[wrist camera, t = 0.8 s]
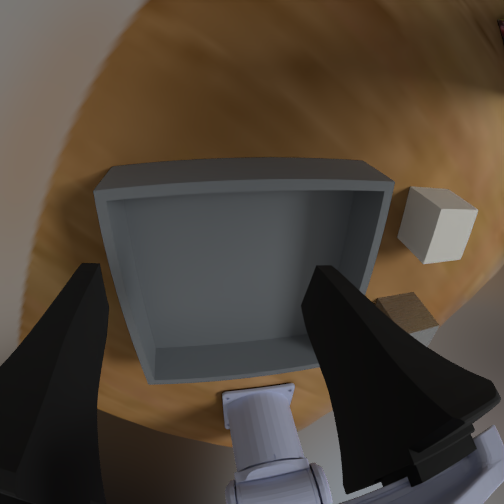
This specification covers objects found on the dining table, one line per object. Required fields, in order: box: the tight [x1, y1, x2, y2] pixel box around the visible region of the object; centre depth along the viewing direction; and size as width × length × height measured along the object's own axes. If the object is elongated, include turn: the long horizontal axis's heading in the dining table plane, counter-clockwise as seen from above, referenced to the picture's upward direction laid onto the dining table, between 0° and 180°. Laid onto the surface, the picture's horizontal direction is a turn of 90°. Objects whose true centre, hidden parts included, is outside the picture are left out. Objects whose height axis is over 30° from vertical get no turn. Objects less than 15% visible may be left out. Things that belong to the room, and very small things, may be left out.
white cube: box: [397, 187, 478, 264], centre depth 21 cm, size 4×4×4 cm
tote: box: [93, 157, 395, 384], centre depth 21 cm, size 16×16×4 cm
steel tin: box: [375, 292, 440, 347], centre depth 26 cm, size 4×4×5 cm
